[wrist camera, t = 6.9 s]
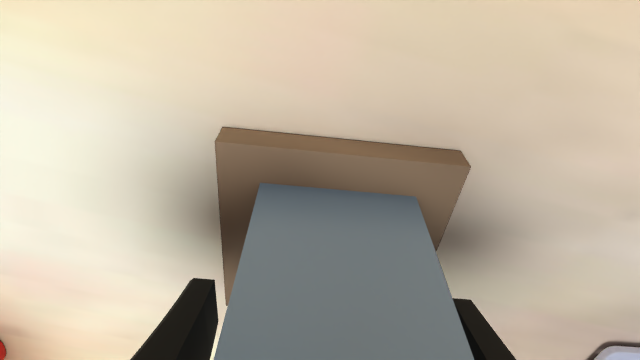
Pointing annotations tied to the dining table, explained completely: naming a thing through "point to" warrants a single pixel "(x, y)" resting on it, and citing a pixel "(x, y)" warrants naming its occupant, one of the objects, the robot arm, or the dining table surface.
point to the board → (328, 177)
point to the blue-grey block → (339, 281)
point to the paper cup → (2, 351)
